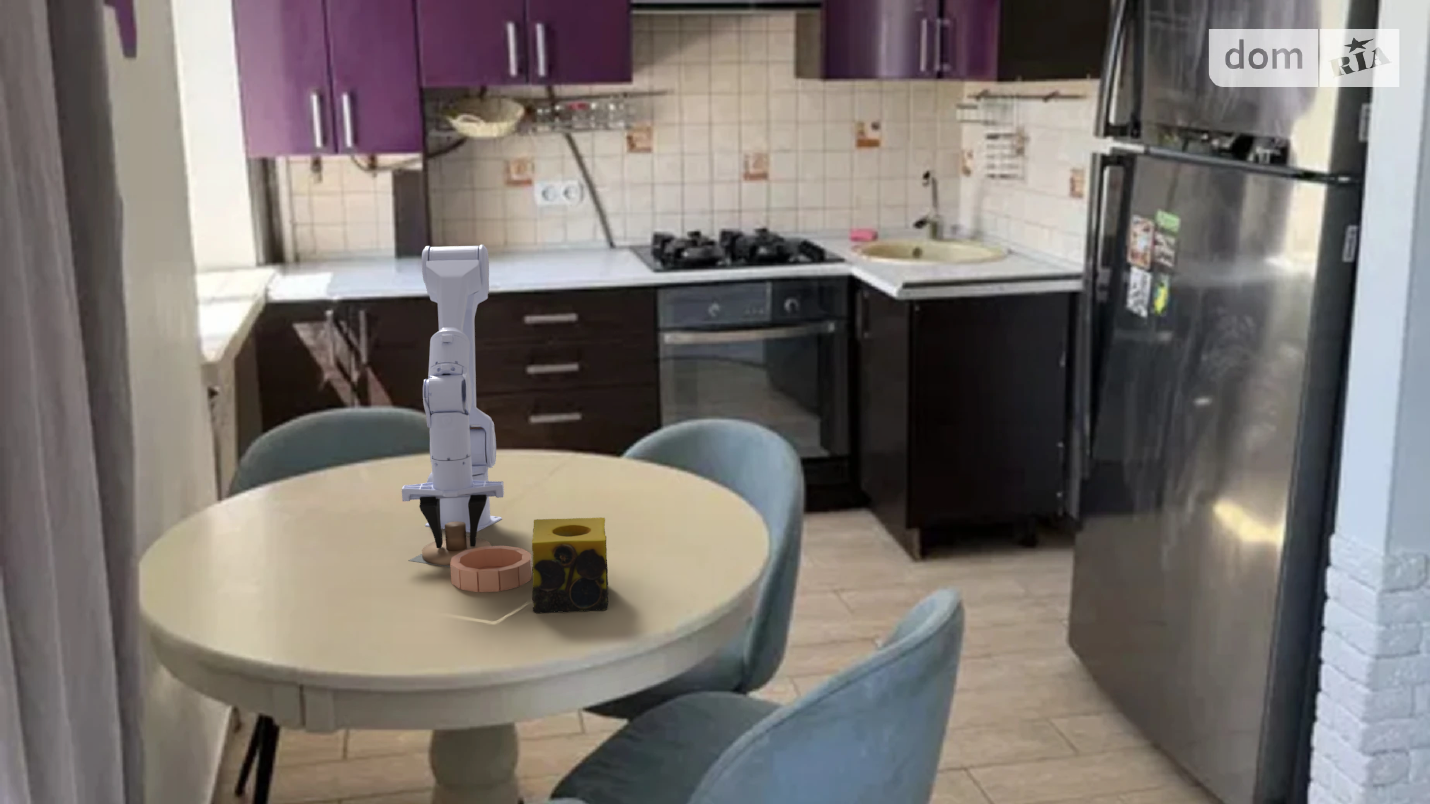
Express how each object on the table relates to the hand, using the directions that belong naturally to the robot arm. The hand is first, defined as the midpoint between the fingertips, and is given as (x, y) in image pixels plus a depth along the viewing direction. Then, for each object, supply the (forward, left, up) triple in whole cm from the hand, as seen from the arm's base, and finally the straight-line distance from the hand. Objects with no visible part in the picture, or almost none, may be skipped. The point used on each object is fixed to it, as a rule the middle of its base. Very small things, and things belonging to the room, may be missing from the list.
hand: (456, 545), depth 202 cm
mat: (0, 0, -2) cm, 2 cm away
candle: (+24, -8, -2) cm, 26 cm away
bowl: (+10, -6, -2) cm, 12 cm away
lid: (0, 0, -1) cm, 1 cm away
